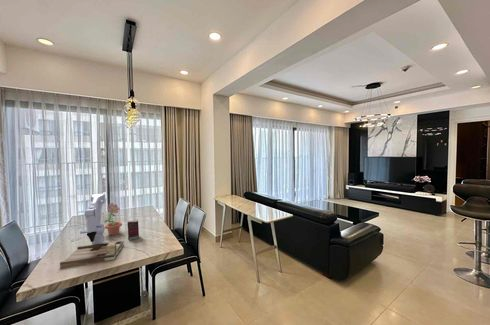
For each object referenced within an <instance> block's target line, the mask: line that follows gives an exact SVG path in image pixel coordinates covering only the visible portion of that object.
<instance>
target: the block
mask: <svg viewBox="0 0 490 325" xmlns="http://www.w3.org/2000/svg"><path fill="white" fill-rule="evenodd" d="M113 242H114V243H111V242H108V243H109V244H108V245H107V252H113V251H115V250H116V248H117V244H116V242H117V241H113Z"/></svg>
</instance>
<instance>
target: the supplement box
mask: <svg viewBox="0 0 490 325" xmlns="http://www.w3.org/2000/svg"><path fill="white" fill-rule="evenodd" d="M139 233H140V230H139V219H134V220H130V221H127V238H128V241H131V240H136V239H140V234H139Z"/></svg>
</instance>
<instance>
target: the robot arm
mask: <svg viewBox="0 0 490 325" xmlns="http://www.w3.org/2000/svg"><path fill="white" fill-rule="evenodd" d="M90 202H91V203H90V204H89V205H88V208H87V209H86V210H85V211H84V216H85V220H86V229H84V230H83V229H82V230H80V231H79V235H81V234H86V237H88V238H89V240H90V242H91V245H95V244H103V243H106V241H105V237H104V233H105V225H104V223H102V222H101V220H102V211H103V205H104V204H105V203H106V193H105V192H103V193H94V194H91V195H90Z"/></svg>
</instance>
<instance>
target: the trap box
mask: <svg viewBox="0 0 490 325" xmlns="http://www.w3.org/2000/svg"><path fill="white" fill-rule="evenodd" d="M114 242H116V244H117V248H116V250H115V251H113V252H107V245H108V244H109V243H114ZM124 243H125V242H124V240H122V241H121V240H120V241H112V242H105V243H103V244H95V245H92V244H90V245H88V244H87V245H80V246H77V248H76V250H75V251H74V252H72V253H71V254H70V255H69V256H68V257H67V258H66V259H65V260H63V261H60V262H59V268H66V267H67V268H68V267H73V266H79V265H80V266H81V265H87V264H92V263H93V264H94V263H99V262H106V261H113V260H115V259H116V258H117V256H118V254H119V253H120V251H121V250H122V248H123V247H124Z"/></svg>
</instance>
